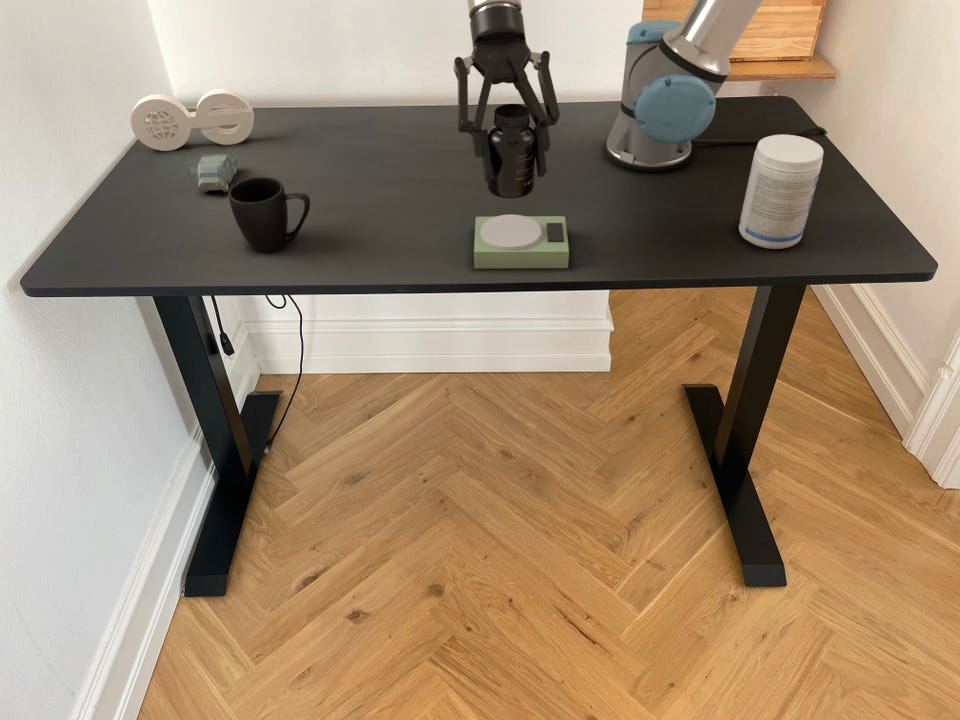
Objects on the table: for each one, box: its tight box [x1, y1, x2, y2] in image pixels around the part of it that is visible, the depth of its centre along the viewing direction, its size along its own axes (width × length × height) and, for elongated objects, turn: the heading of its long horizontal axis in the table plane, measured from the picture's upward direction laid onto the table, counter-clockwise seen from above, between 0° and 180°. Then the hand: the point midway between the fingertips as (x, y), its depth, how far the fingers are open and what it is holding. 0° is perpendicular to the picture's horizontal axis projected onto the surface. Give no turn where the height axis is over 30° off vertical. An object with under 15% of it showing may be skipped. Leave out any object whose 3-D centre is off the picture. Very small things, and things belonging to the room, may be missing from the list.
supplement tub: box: [738, 134, 824, 250], centre depth 118 cm, size 10×10×15 cm
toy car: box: [186, 153, 238, 194], centre depth 137 cm, size 6×10×5 cm, turn 1°
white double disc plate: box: [130, 88, 255, 152], centre depth 147 cm, size 22×2×10 cm, turn 100°
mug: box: [227, 176, 311, 254], centre depth 120 cm, size 8×12×10 cm
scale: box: [473, 213, 570, 270], centre depth 120 cm, size 14×10×4 cm
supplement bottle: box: [486, 103, 536, 200], centre depth 110 cm, size 7×7×12 cm
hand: (515, 176), depth 109 cm, fingers closed on supplement bottle, 7 cm apart
